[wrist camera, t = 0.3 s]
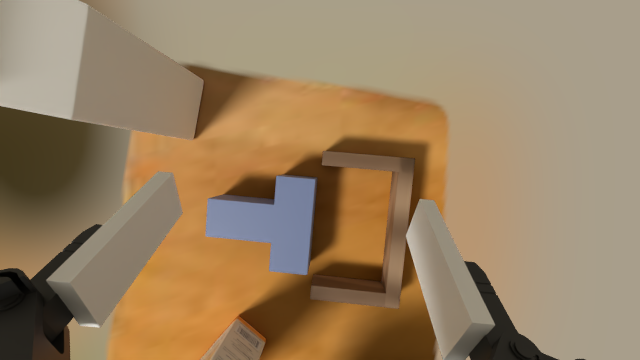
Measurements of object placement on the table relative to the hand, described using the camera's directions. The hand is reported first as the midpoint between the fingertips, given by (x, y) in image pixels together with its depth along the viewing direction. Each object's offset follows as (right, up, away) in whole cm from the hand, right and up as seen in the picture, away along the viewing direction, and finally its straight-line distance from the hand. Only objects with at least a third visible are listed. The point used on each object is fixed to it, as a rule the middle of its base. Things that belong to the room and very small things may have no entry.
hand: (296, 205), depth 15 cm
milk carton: (-16, +10, +17) cm, 26 cm away
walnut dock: (+5, -4, +17) cm, 18 cm away
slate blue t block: (-5, -3, +17) cm, 18 cm away
